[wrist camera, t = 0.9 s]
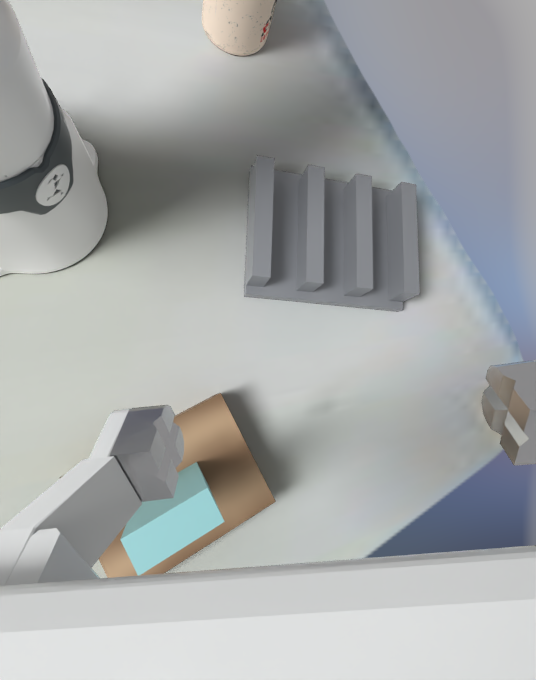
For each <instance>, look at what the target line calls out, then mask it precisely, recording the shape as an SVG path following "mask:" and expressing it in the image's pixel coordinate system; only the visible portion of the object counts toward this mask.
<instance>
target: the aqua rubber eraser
mask: <svg viewBox="0 0 536 680" xmlns="http://www.w3.org/2000/svg"><path fill="white" fill-rule="evenodd" d="M178 475H179V477H178V481H177V485H176V490H175V494H174V498H170V499H162V500H154V501H146V502H142V505H141V506H140V507H139V508H138V510H137V511H136V512H135V513H134V515H133V516H132V517H131V518H130V520H129V521H128V522H127V524H126V526H125V529H124V531H123V534H122V537H121V539H120V540H121V542H122V544H123V546H124V548H125V550H126V552H127V554H128V556H129V558H130V560H131V562H132V564H133V566H134V569H135V571H136V573H137V575H138V576H139V575H141V574H143V573H144V572H146V571H147V570H149V569H151V568H152V567H154V566H155V565H157V564H158V563H160V562H162V561H163V560H165V559H166V558H168V557H170V556H171V555H173V554H174V553H176V552H177V551H179V550H181V549H182V548H184V547H185V546H187V545H189V544H190V543H192V542H193V541H195V540H196V539H198V538H200V537H201V536H203V535H204V534H206V533H207V532H209V531H211V530H212V529H214V528H215V527H217V526H219V525H220V524H222V523H223V522H224V519H223V517H222V515H221V513H220V510H219V508H218V506H217V504H216V501H215V499H214V497H213V495H212V492H211V490H210V488H209V486H208V484H207V482H206V480H205V478H204V476H203V474H202V472H201V470H200V468H199V466H198V464H197V462H195V463H194V464H192V465H190V466H188V467H187V468H185V469H183V470H181V471H180V472H178Z"/></svg>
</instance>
